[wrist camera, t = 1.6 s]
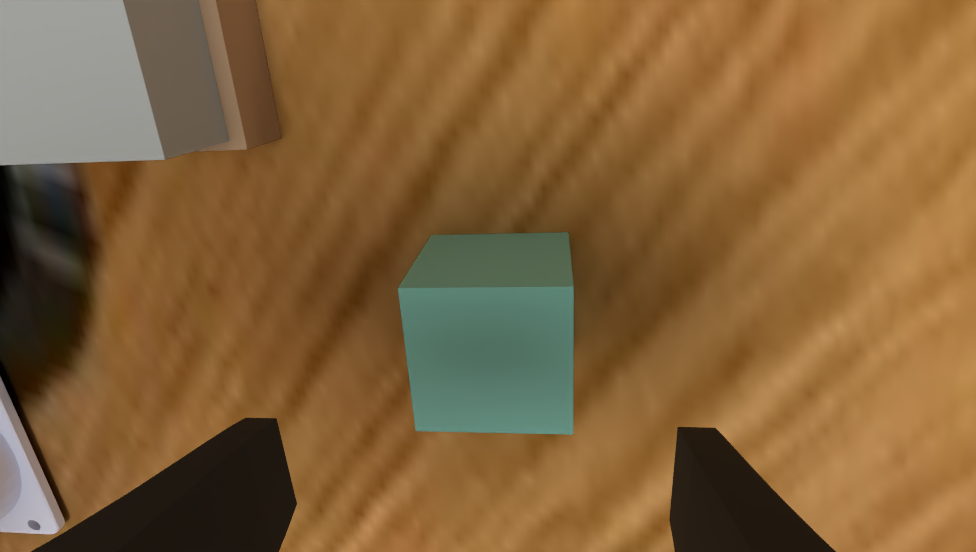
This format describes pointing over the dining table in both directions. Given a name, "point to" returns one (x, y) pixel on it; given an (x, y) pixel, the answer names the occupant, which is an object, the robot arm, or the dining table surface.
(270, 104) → the tower base
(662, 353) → the dining table surface
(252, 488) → the robot arm
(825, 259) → the dining table surface
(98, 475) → the dining table surface
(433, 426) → the teal block
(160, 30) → the tower top
